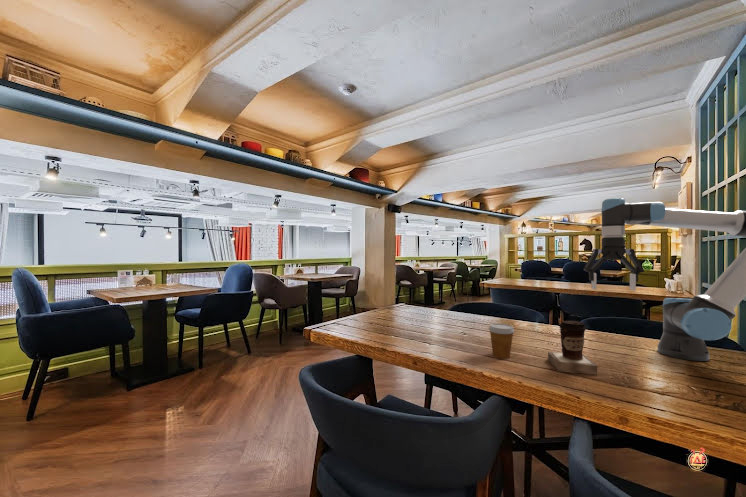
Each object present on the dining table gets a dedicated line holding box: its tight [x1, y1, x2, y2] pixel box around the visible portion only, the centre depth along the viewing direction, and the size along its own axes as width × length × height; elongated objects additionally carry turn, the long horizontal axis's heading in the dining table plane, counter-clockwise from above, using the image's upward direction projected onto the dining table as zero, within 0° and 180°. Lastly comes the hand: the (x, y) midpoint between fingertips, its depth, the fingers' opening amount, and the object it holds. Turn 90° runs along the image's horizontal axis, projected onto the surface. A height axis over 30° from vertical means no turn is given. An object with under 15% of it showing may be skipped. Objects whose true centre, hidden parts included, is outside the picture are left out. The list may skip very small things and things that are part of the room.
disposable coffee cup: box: [488, 323, 515, 360], centre depth 126 cm, size 10×10×12 cm
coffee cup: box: [559, 320, 587, 360], centre depth 115 cm, size 9×8×13 cm
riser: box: [547, 351, 598, 376], centre depth 115 cm, size 12×12×3 cm
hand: (613, 289), depth 127 cm, fingers open, 13 cm apart
